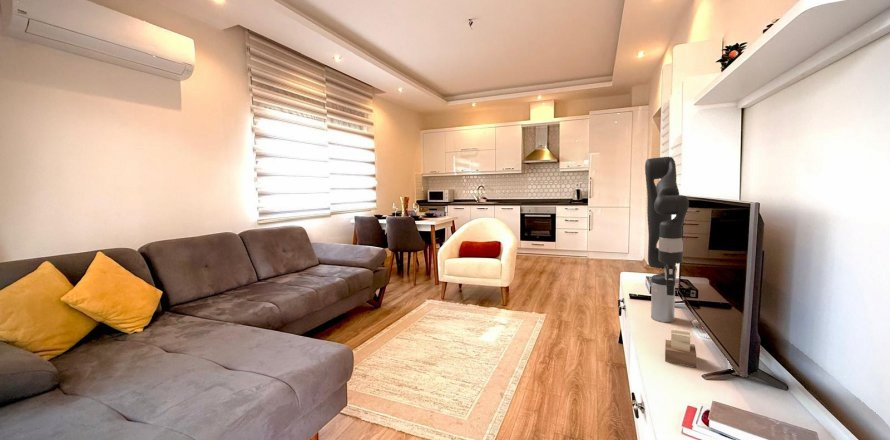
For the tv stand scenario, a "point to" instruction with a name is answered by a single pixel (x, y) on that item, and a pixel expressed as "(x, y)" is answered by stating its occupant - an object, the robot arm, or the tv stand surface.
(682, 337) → the birch cube
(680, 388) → the tv stand surface
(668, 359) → the walnut base block
